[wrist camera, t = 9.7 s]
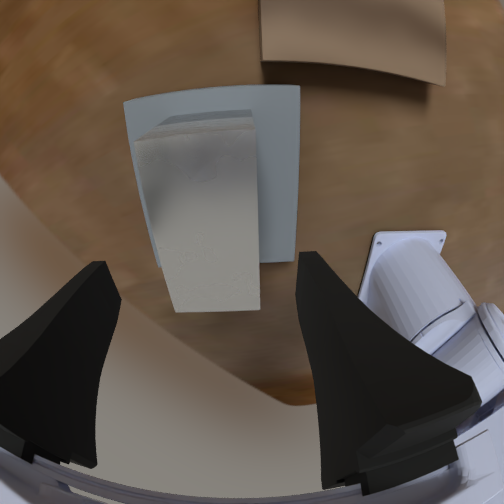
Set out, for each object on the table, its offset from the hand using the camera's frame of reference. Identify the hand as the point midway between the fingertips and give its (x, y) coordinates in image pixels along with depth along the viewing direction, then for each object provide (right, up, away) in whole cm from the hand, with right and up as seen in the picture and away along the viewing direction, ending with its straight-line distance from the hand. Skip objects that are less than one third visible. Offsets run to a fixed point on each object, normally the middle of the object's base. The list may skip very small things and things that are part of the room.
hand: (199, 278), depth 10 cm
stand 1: (0, +6, +8) cm, 10 cm away
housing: (0, +5, +7) cm, 8 cm away
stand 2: (+8, +15, +2) cm, 18 cm away
